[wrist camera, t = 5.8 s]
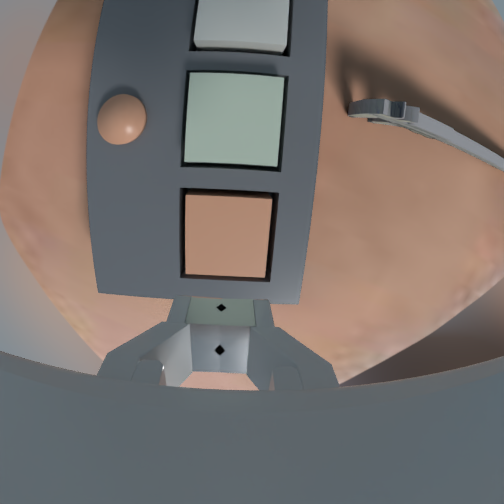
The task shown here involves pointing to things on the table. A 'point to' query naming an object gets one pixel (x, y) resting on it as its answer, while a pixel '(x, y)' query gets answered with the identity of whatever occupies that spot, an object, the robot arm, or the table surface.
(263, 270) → the terracotta button
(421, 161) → the table surface
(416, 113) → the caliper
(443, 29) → the table surface
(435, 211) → the table surface
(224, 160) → the sage button
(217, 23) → the white button
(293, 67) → the button panel
